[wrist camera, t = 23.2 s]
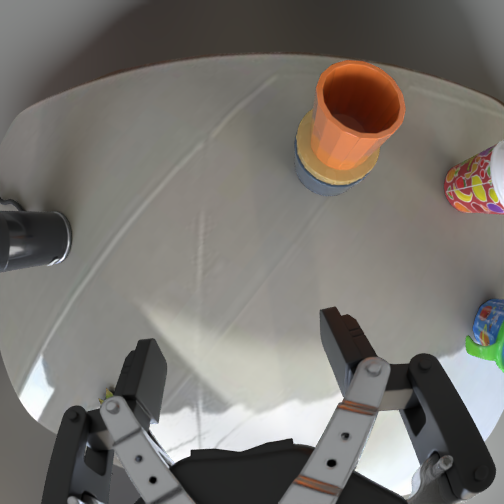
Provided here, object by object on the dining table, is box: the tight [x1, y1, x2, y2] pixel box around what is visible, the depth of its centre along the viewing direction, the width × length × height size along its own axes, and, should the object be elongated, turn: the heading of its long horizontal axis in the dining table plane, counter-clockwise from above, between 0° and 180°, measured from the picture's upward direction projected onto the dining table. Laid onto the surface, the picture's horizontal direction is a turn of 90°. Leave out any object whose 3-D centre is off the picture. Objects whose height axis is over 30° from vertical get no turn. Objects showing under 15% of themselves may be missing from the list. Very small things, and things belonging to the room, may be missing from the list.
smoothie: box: [444, 140, 504, 214], centre depth 22 cm, size 8×8×20 cm
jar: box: [295, 131, 371, 196], centre depth 30 cm, size 9×9×10 cm
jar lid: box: [296, 109, 380, 185], centre depth 26 cm, size 8×8×2 cm
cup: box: [310, 60, 406, 170], centre depth 20 cm, size 6×6×10 cm
